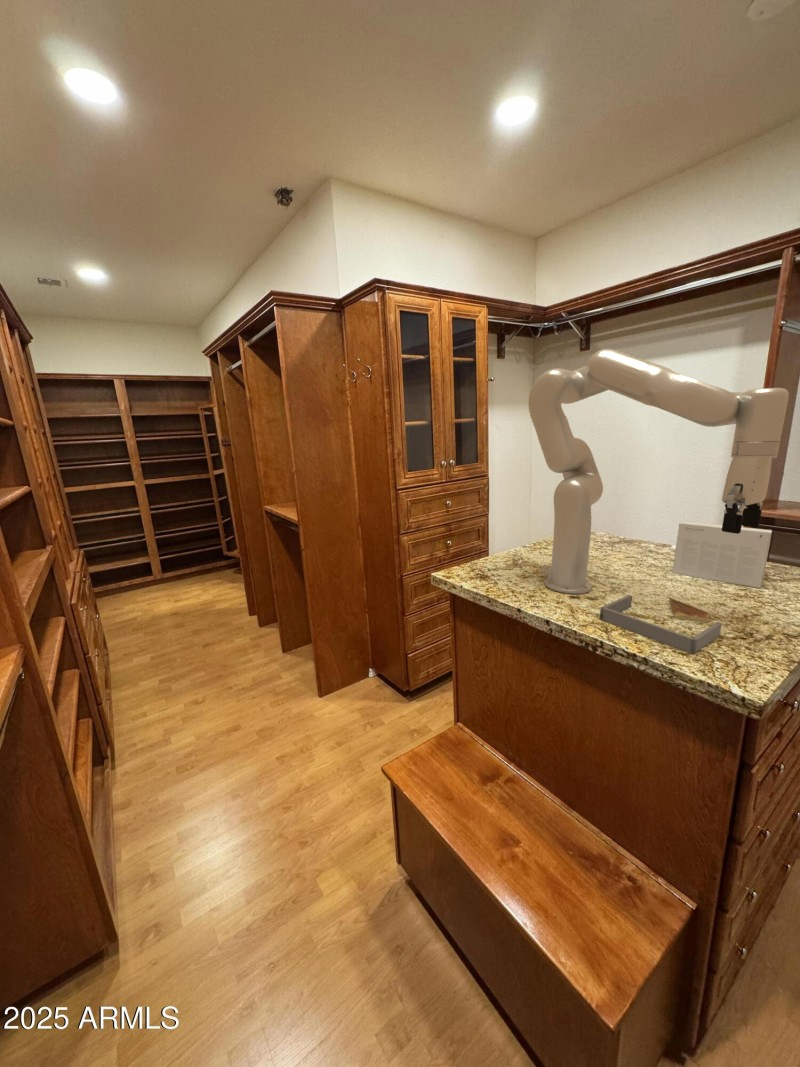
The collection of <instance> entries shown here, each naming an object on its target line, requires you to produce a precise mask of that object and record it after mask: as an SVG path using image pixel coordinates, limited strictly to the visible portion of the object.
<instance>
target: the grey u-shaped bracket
mask: <svg viewBox="0 0 800 1067" xmlns="http://www.w3.org/2000/svg"><path fill="white" fill-rule="evenodd" d="M632 602H633V595H632V594H627V595H625V596H624V597H621V598H619V599H617V600H615V601H612V602H610V603H608V604H606V605H603V606H600V611H599V620H601V621H603V622H606V623H609V624H611V625H614V626H617V627H620V628H622V629H625V630H628V631H630V632H633V633H635V634H638V635H640V636H642V637H646V638H648V639H652V640H655V641H657V642H659V643H662V644H665V645H668V646H670V647H673V648H675V649H678V650H681V651H683V652H686V653H689V654H691V655H695V654H696V653H698V652H699V651H701V650H702V649H703V648H704V647H707V645H709V644H711V643H712V642H713V641H715V640H716V639H717V638H719V637H720V636H721V630H722V625H723V624H722V622H720V621H717V622H715V623H713V624H712V625H711V626H709V627H708V628H706V629H705V630H702V631H701V632H700V633H698V634H697V635H695V636H694V637H691V636H689V635H686V634H682V633H680V632H677V631H674V630H673V629H669V628H666V627H663V626H659V625H657V624H654V623H651V622H649V621H645V620H642V619H639V618H637V617H634V616H631V615H628V614H625V613H623V611H625V610H628V609H630V608H631V607H632Z"/></svg>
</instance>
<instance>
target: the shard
mask: <svg viewBox="0 0 800 1067" xmlns="http://www.w3.org/2000/svg"><path fill="white" fill-rule="evenodd" d="M669 605H670V606H671V609H672V612H673V615H674V618H675V619H677V620H683V621H691V622H695V623H696V622H697V623H702V624H705V623H707V622H709V620H710V617H711V614H710V613H708V612H706V611H704V610H702V609H699V608H696V607H694V606H692V605H690V604H687V603H685V602H681V601H677V600H676V599H673V598H671V597H670V598H669Z"/></svg>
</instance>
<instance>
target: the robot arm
mask: <svg viewBox="0 0 800 1067" xmlns="http://www.w3.org/2000/svg"><path fill="white" fill-rule="evenodd" d="M607 391H612V392H614V393H617V394H618V395H621V396H624V397H626V398H629V399H631V400H634V401H636V402H639V403H641V404H643V405H645V406H650V407H655V408H657V409H659V410H663V411H665V412H668V413H670V414H673V415H675V416H677V417H680V418H682V419H685V420H688V421H690V422H693V423H696V424H698V425H699V426H703V427H708V428H711V427H713V428H716V427H722V426H730V425H735V428H734V434H733V440H732V441H733V442H732V446H731V453H730V458H732V459H731V461H730V464H729V468H728V472H727V474H726V479H725V483H724V488H723V492H722V497H721V501H722V502H723V503H724V507H725V508H724V511H723V513H724V514H723V519H722V524H721V525H722V531H723V532H729V533H735V534H739V533H740V532H741V527H748V528H758V527H760V523H761V516H762V512H763V510H762V509H763V507H764V503H763V501H765V499H766V496H767V493H768V489H769V488H768V487H769V483H770V479H771V478H770V477H771V470H772V459H776V458H778V454H779V449H780V444H781V441H782V440H781V439H782V433H783V428H784V422H785V417H786V412H787V408H788V402H789V396H790V393H789V391H788V390H787V389H786V388H785V387H784V388H783V387H768V388H767V387H766V388H763V387H762V388H756V389H755V388H754V389H750V390H747V391H744V392H743V391H741V392H740V391H739V392H738V391H737V392H734V391H729V390H726V389H725V388H721V387H718V386H715V385H714V384H709V383H707V382H704V381H701V380H697V379H695V378H692V377H690V376H687V375H684V374H681V373H679V372H676V371H674V370H672V369H670V368H668V367H665V366H663V365H659V364H657V363H654V362H651V361H648V360H646V359H643V358H639V357H637V356H633V355H631V354H628V353H626V352H622V351H621V350H616V349H614V348H613V349H612V348H603V349H600V350H597V351H596V352H594V353H593V354H592V355H591V356H590V357H589V359H588V360H587V364H586V365H584V366H582V367H580V368H577V369H574V370H568V369H566V368H559V367H558V368H557V367H556V368H550V369H549V370H546V371H545V372H543V373H542V374H540V375H539V377H538V378H537V379H536V380H535V382H534V383H533V385H532V387H531V389H530V392H529V394H528V400H527V401H528V402H527V405H528V411H529V412H528V413H529V416H530V418H531V422H532V424H533V427H534V429H535V433H536V435H537V439H538V443H539V445H540V448H541V451H542V454H543V458H544V460H545V463H546V465H547V467H548V469H550V471H551V472H553V473H557V474H562V478H564V479H563V480H561V481H560V482H559V483H558V484H557V486H556V488H555V489H554V493H553V511H554V516H553V517H554V522H553V523H554V524H553V536H552V537H553V539H552V552H551V565H548V564H542V567H541V568H540V573H543V574H546V575H547V576H546V578H545V579H544V585H545V586H546V587H547V588H548V589H550V590H553V591H555V592H558V593H564V594H570V595H571V594H572V595H573V594H574V595H576V594H579V595H580V594H585V593H588V592H590V591H592V588H593V585H592V582H590V581H589V580H588V579H587V577H588V566H589V565H588V564H589V557H590V556H589V555H590V542H591V534H592V505H594V504H595V503H597V502H598V501H599V500H600V498H601V497H602V495H603V492H604V484H603V481H602V479H601V476H600V472H599V470H598V466H597V463H596V461H595V458H594V455H593V453H592V450H591V448H590V446H589V445H588V444H587V443H586V441H584V440H583V439H581V438H580V437H579V438H578V437H575V436H574V434H573V432H572V429H571V427H570V423H569V420H568V417H567V416H566V415H565V412H564V410H563V408H562V404H564V405H566V404H573V403H577V402H579V401H583V400H586V399H587V398H590V397H593V396H596V395H599V394H602V393H604V392H607Z"/></svg>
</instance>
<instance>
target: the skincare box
mask: <svg viewBox="0 0 800 1067" xmlns="http://www.w3.org/2000/svg"><path fill="white" fill-rule="evenodd" d="M722 525H723V524H714V523H705V522H694V521H684V520H683V521H680V523H678V529H677V530H678V532H677V537H676V544H675V545H676V546H675V549H674V550H675V552H674V558H673V566H672V572H671V573H672V574H675V575H676V574H677V575H682V576H688V577H694V578H698V579H699V578H700V579H705V580H711V581H717V582H722V583H727V584H733V585H739V586H745V587H751V588H757V589H761V588H762V586H763V581H764V577H765V571H766V566H767V560H768V554H769V549H770V546H771V538H772V533H773V530H772V529H763V528H756V527H746V526H742V527H741V532H740V533H739V534H735V533H729V532H723V531H722Z"/></svg>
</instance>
